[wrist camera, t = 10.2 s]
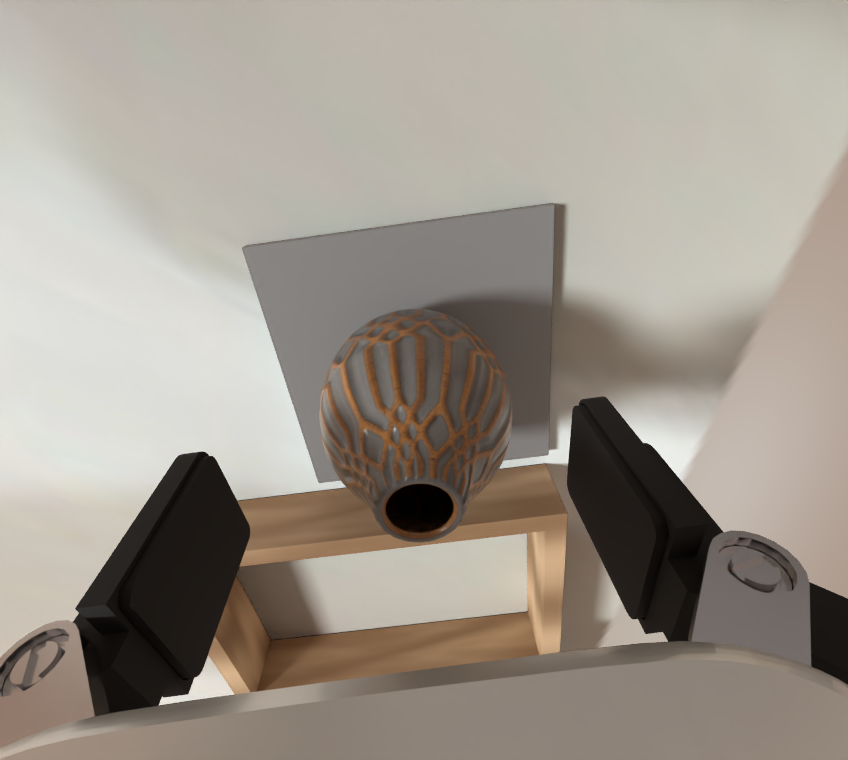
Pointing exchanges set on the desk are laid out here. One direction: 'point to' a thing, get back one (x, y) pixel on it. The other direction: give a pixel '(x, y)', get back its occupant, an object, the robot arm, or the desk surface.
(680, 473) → the desk surface
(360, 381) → the vase
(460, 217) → the mat
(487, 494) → the frame
